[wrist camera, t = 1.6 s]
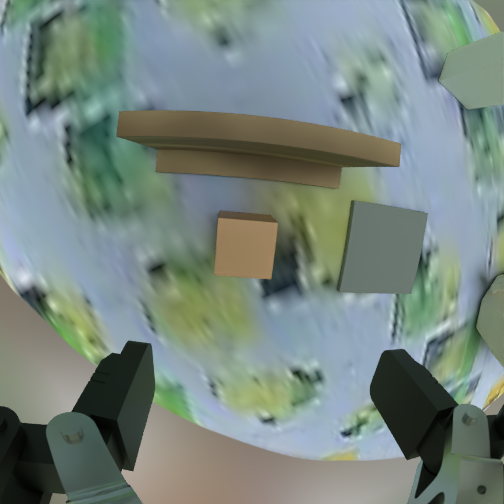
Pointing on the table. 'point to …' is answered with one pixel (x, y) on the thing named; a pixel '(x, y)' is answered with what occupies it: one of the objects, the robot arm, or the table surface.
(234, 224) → the letter cube
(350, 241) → the slate pad
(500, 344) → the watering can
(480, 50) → the milk
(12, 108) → the table surface
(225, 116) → the walnut screen
